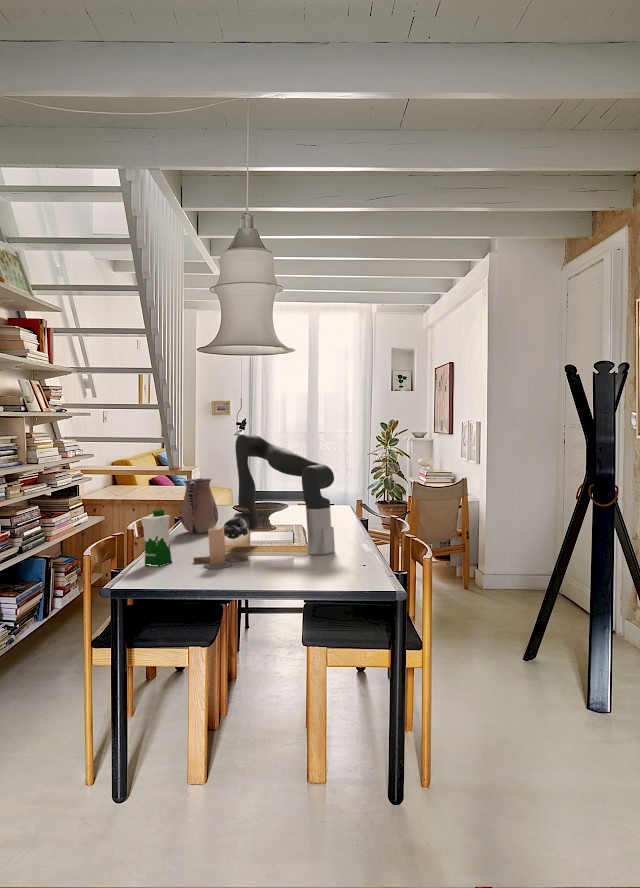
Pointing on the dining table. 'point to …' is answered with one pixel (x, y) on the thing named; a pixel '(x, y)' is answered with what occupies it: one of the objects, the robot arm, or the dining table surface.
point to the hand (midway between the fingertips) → (223, 534)
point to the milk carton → (157, 538)
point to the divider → (228, 558)
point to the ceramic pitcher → (198, 506)
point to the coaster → (218, 566)
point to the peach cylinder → (217, 547)
